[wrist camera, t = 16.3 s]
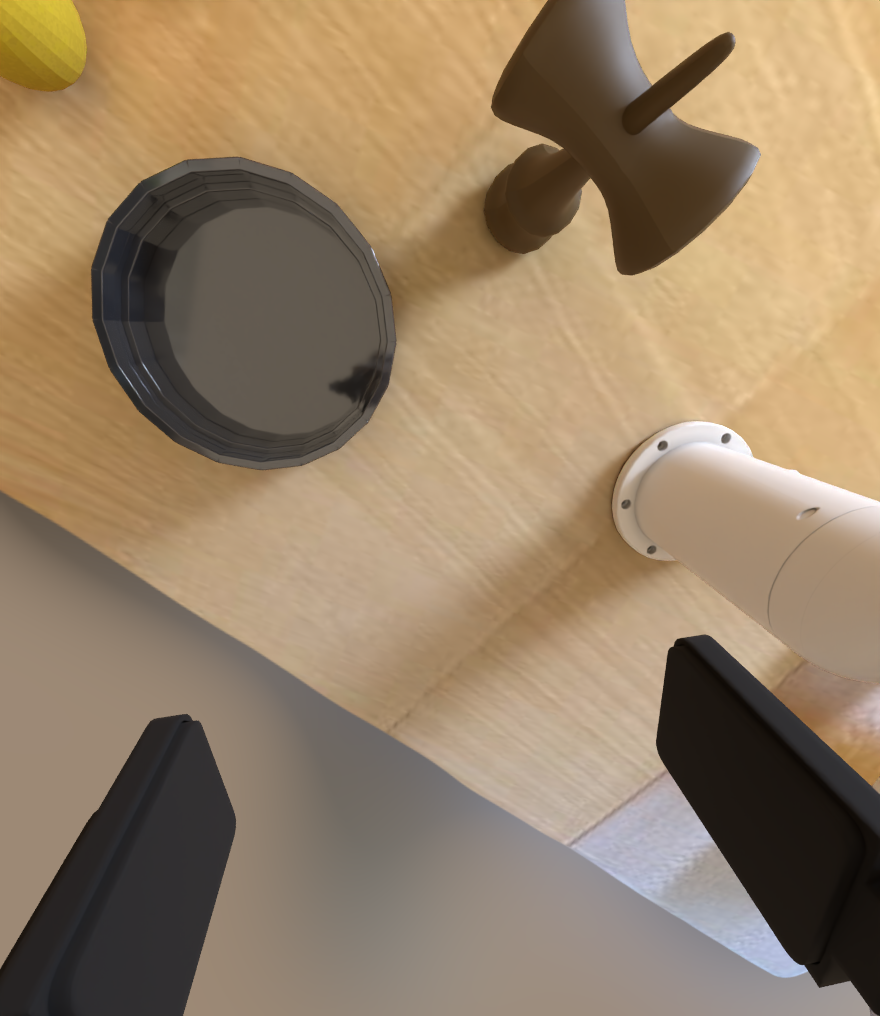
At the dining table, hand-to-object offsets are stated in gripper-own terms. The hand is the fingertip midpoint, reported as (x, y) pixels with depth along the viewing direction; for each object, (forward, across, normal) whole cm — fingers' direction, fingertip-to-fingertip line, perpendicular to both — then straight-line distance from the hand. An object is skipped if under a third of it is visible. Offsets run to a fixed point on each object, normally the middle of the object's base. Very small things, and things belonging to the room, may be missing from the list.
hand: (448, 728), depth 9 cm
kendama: (+28, -10, -14) cm, 33 cm away
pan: (+28, +8, -8) cm, 30 cm away
